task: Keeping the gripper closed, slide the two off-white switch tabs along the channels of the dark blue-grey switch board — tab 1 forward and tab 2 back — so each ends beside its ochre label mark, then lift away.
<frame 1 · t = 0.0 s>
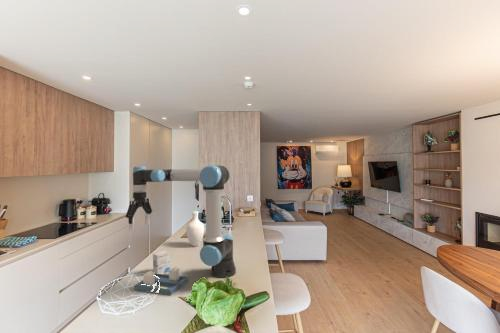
hand: (139, 226, 150), 28 cm above the table, fingers open, 13 cm apart
vase: (195, 246, 202), on the table
tab 1: (174, 274, 135), point 5 cm above the table, slide at 0.0 cm
ink box: (161, 272, 150), on the table
switch board: (161, 285, 133), on the table
tab 2: (149, 278, 130), point 5 cm above the table, slide at 0.0 cm
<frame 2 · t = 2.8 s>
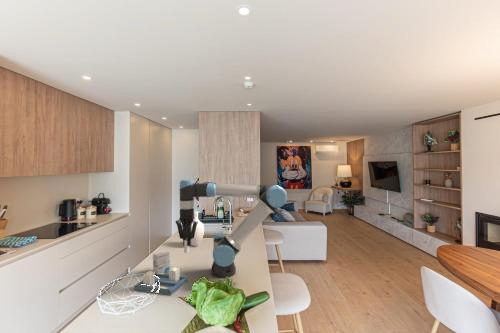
hand: (186, 251, 133), 18 cm above the table, fingers closed
nothing on the table moved.
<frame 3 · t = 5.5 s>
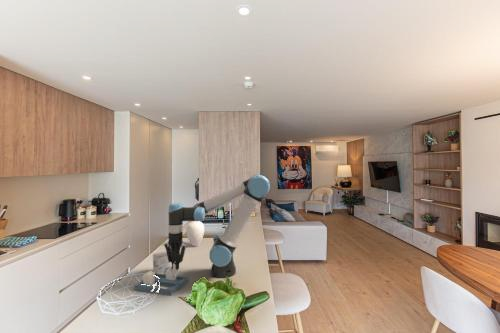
hand: (175, 274, 135), 5 cm above the table, fingers closed
tab 1: (171, 273, 136), point 5 cm above the table, slide at 2.0 cm, touching gripper
everything else where it was.
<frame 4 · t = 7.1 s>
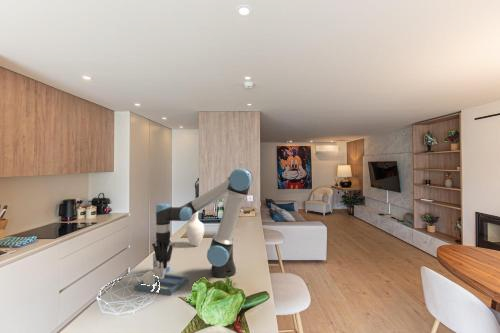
hand: (163, 273, 137), 4 cm above the table, fingers closed
tab 1: (159, 272, 138), point 5 cm above the table, slide at 9.7 cm, touching gripper
everything else where it was.
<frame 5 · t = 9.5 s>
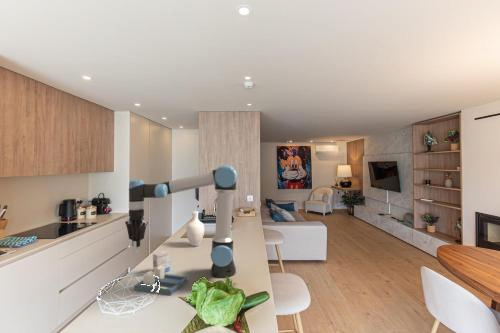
hand: (136, 252, 133), 18 cm above the table, fingers closed
tab 1: (159, 272, 138), point 5 cm above the table, slide at 9.7 cm
everything else where it was.
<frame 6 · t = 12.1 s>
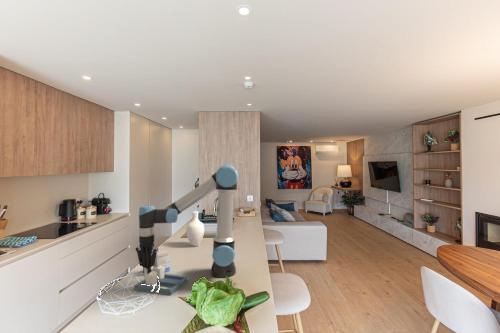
hand: (147, 279, 131), 4 cm above the table, fingers closed
tab 2: (151, 278, 130), point 5 cm above the table, slide at 1.4 cm, touching gripper
everything else where it was.
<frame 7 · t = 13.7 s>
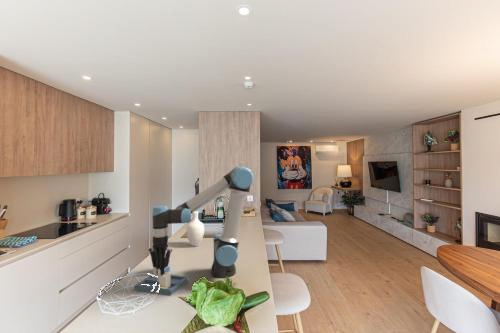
hand: (160, 280, 129), 4 cm above the table, fingers closed
tab 2: (164, 280, 128), point 5 cm above the table, slide at 9.7 cm, touching gripper
everything else where it was.
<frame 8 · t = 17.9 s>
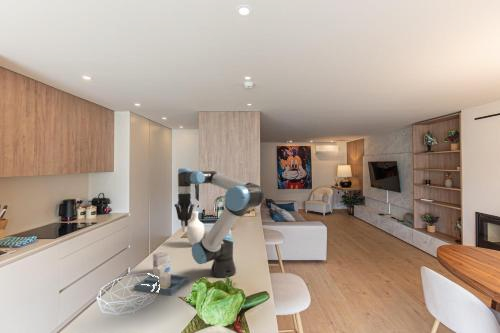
hand: (184, 231, 152), 24 cm above the table, fingers closed
tab 2: (165, 280, 128), point 5 cm above the table, slide at 9.7 cm
everything else where it was.
at the end: tab 1 slide at 9.7 cm; tab 2 slide at 9.7 cm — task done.
